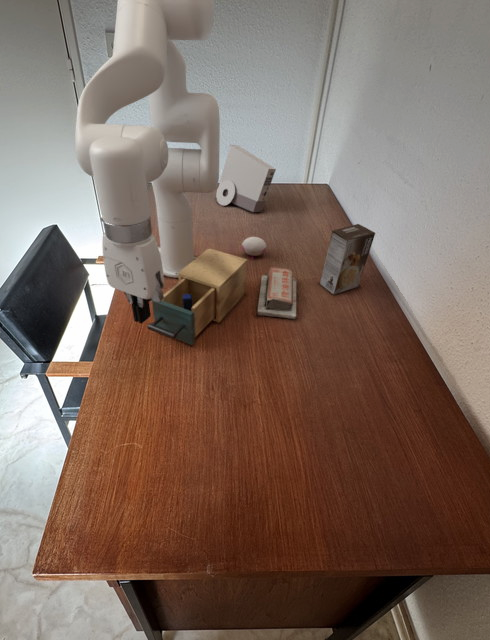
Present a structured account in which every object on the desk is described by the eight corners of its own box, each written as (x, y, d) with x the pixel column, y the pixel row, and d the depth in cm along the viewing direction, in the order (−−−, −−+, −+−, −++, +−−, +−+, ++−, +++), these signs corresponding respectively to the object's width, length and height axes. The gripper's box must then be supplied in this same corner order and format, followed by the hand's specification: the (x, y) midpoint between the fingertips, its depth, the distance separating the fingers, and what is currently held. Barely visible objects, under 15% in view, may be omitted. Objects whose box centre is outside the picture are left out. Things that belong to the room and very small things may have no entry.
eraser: (193, 321, 90) (192, 298, 85) (184, 322, 90) (182, 298, 85) (193, 316, 92) (192, 293, 87) (184, 316, 92) (182, 293, 87)
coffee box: (343, 276, 109) (359, 222, 98) (358, 287, 105) (377, 232, 94) (318, 284, 106) (332, 229, 95) (333, 295, 102) (349, 240, 91)
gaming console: (210, 200, 148) (218, 142, 136) (223, 199, 152) (232, 143, 140) (252, 218, 136) (265, 157, 124) (265, 217, 141) (279, 157, 128)
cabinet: (218, 322, 93) (219, 286, 86) (180, 308, 97) (177, 273, 90) (244, 294, 102) (247, 259, 95) (208, 282, 106) (208, 248, 98)
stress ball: (263, 262, 121) (266, 240, 120) (264, 259, 113) (268, 236, 112) (240, 259, 121) (243, 238, 120) (240, 256, 113) (243, 233, 112)
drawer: (181, 357, 83) (178, 326, 77) (144, 342, 87) (138, 311, 80) (220, 315, 94) (221, 285, 88) (186, 302, 98) (184, 273, 91)
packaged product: (262, 264, 104) (298, 267, 103) (261, 279, 108) (295, 282, 107) (258, 300, 92) (298, 304, 91) (256, 316, 95) (295, 320, 94)
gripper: (77, 225, 60) (101, 317, 73) (151, 247, 55) (162, 341, 68) (108, 210, 65) (125, 298, 78) (179, 229, 60) (184, 320, 73)
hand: (142, 318), depth 73 cm, fingers closed
